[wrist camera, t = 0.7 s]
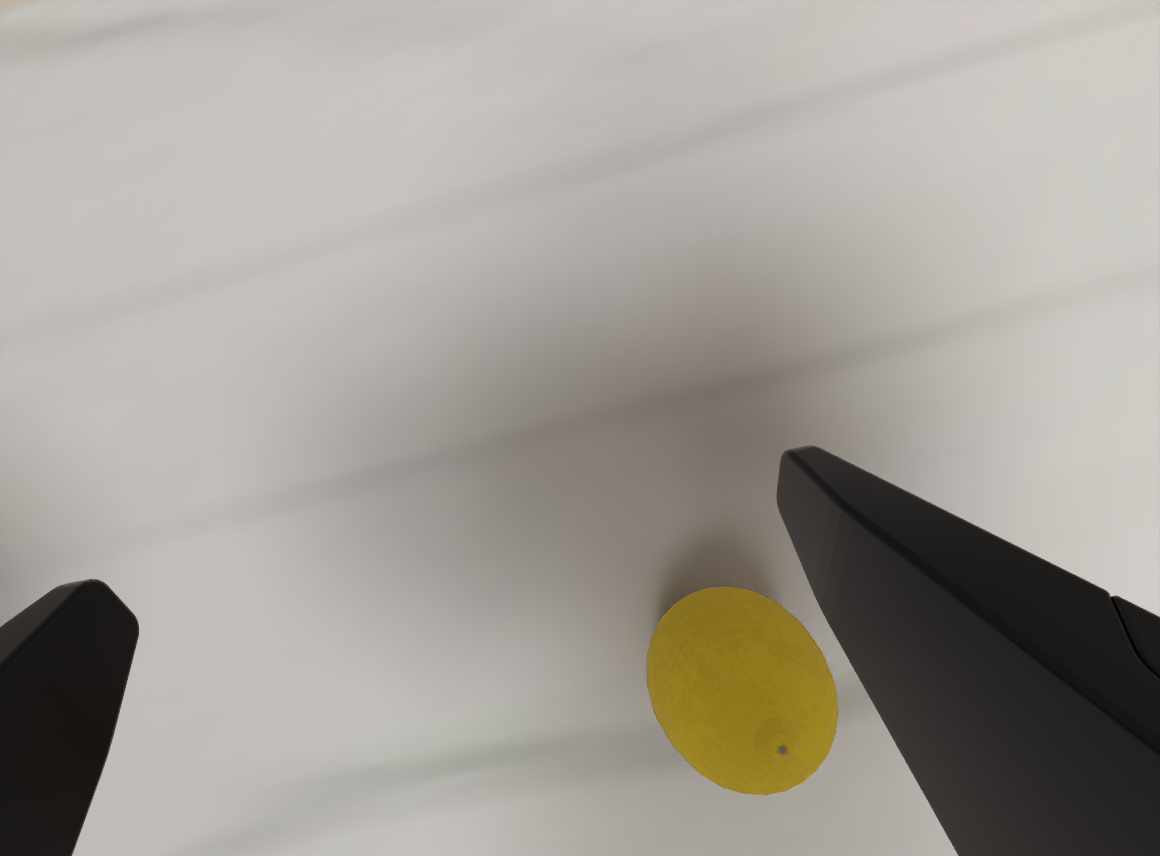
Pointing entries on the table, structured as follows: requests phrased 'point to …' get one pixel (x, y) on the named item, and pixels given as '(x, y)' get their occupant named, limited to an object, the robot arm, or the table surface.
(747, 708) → the lemon
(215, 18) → the table surface
